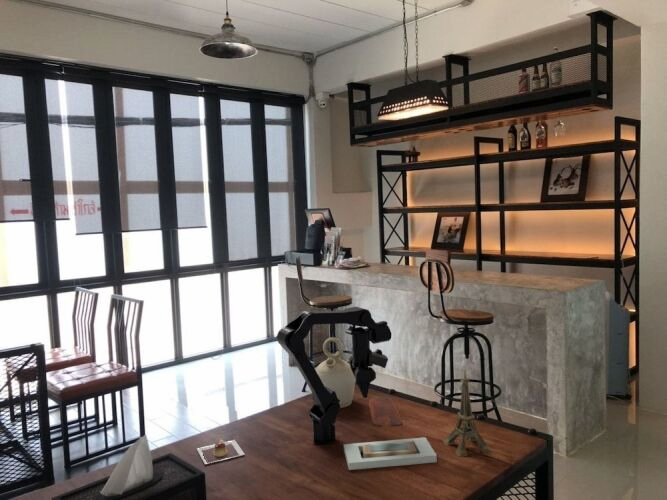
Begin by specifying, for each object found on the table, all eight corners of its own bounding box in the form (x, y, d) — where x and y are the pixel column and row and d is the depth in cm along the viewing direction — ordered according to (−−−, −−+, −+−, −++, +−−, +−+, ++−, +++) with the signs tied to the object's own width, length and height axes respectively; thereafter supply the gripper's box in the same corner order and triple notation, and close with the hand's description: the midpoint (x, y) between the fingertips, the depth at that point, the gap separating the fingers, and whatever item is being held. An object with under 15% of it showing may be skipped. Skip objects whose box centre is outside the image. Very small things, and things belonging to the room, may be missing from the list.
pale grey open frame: (348, 470, 150) (348, 463, 150) (344, 450, 162) (343, 444, 162) (436, 462, 152) (436, 455, 152) (425, 443, 164) (425, 437, 164)
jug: (342, 413, 191) (339, 344, 189) (307, 406, 200) (303, 340, 198) (364, 399, 204) (361, 334, 202) (329, 393, 212) (326, 330, 210)
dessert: (205, 467, 156) (203, 451, 156) (196, 451, 167) (195, 436, 167) (245, 457, 161) (244, 442, 161) (234, 442, 172) (233, 428, 172)
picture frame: (364, 464, 154) (364, 453, 154) (362, 454, 160) (362, 444, 160) (416, 460, 154) (416, 450, 154) (412, 451, 160) (412, 441, 160)
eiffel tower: (442, 442, 165) (440, 362, 163) (473, 436, 168) (471, 358, 166) (459, 457, 155) (456, 372, 153) (492, 451, 157) (490, 367, 155)
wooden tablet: (403, 427, 179) (403, 422, 178) (373, 428, 178) (372, 423, 178) (393, 398, 205) (393, 394, 205) (367, 399, 205) (367, 395, 205)
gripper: (391, 351, 167) (393, 400, 168) (380, 337, 185) (382, 381, 187) (355, 354, 166) (357, 403, 167) (348, 339, 184) (350, 384, 186)
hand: (362, 392), depth 177 cm, fingers open, 9 cm apart
